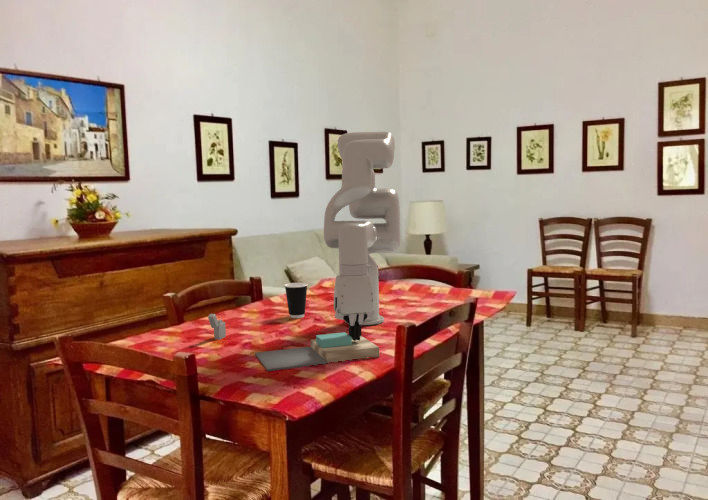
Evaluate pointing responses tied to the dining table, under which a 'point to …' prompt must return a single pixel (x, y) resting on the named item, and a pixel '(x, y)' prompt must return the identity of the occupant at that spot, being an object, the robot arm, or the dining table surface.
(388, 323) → the dining table surface
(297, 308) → the dixie cup
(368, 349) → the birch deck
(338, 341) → the teal tile
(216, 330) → the lighter
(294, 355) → the rubber mat
